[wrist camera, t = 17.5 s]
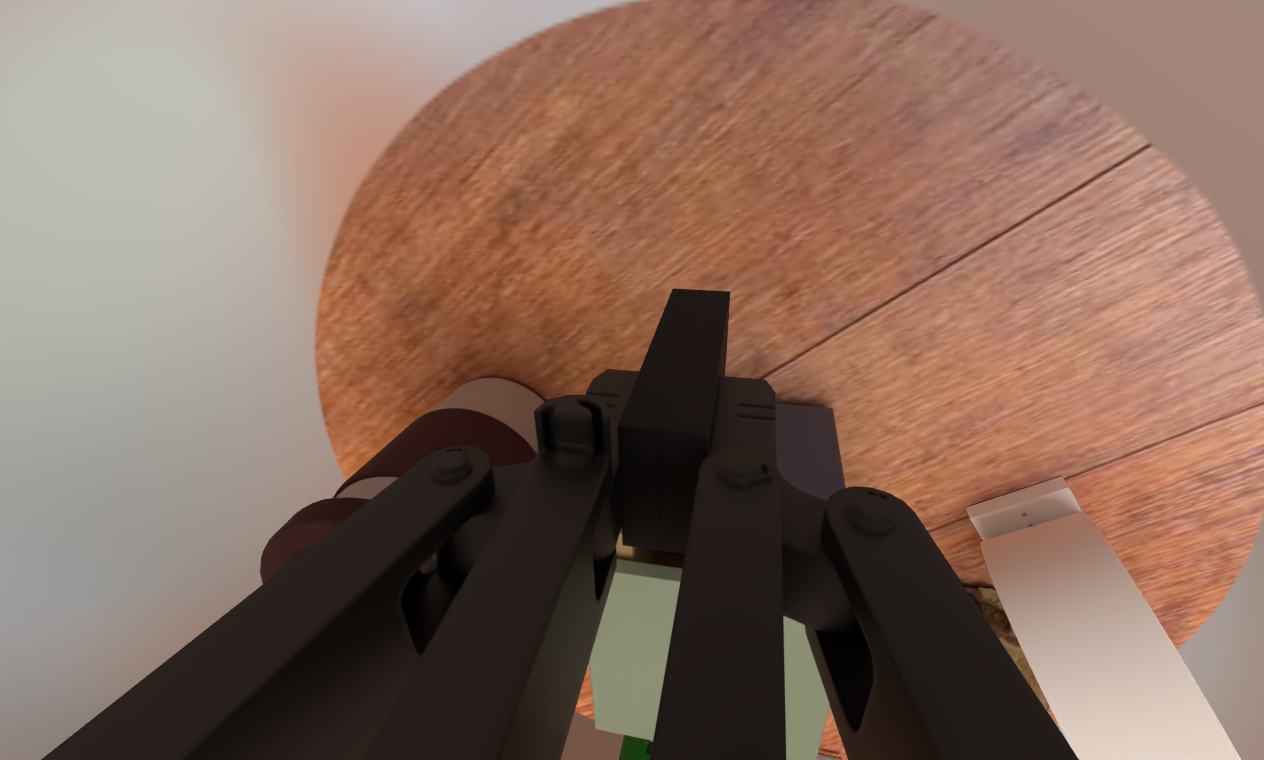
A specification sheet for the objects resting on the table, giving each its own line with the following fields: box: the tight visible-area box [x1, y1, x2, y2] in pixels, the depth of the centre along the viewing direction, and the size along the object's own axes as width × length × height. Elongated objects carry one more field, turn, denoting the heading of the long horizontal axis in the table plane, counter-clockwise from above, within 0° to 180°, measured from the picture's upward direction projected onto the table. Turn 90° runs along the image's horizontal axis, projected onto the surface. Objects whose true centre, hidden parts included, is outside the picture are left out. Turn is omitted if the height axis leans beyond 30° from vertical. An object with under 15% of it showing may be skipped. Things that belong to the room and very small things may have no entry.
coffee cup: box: [260, 378, 544, 584], centre depth 28 cm, size 10×10×15 cm
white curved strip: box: [966, 476, 1241, 760], centre depth 25 cm, size 5×6×12 cm
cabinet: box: [589, 559, 830, 760], centre depth 31 cm, size 12×11×10 cm
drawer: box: [616, 403, 845, 568], centre depth 28 cm, size 12×10×8 cm
